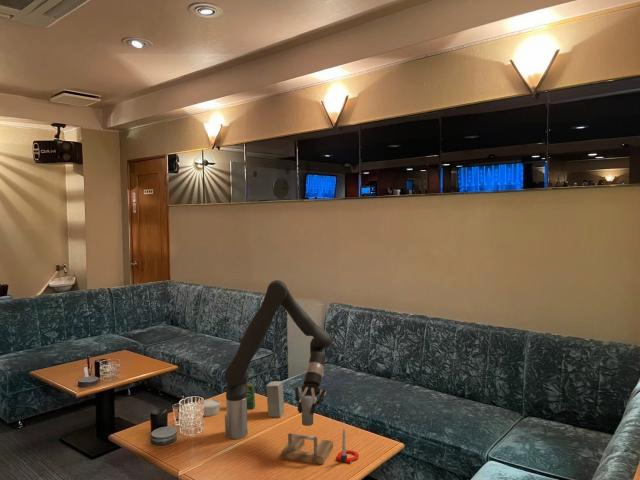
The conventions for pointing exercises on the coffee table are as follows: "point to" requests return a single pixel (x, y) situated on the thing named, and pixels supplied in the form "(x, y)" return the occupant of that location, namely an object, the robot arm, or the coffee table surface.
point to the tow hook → (342, 454)
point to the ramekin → (211, 407)
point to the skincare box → (275, 398)
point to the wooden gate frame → (317, 456)
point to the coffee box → (250, 396)
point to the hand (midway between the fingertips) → (305, 412)
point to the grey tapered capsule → (307, 410)
